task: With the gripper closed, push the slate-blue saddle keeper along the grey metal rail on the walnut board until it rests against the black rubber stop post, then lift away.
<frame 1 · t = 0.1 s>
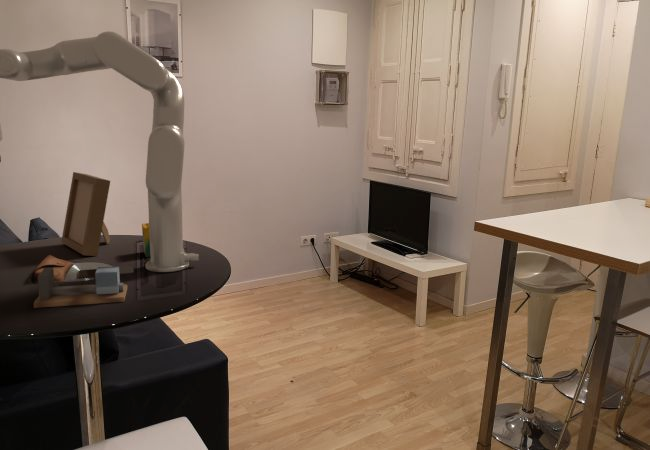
keeper: (108, 280, 133), point 4 cm above the table, slide at 0.0 cm
crayon box: (148, 254, 174), on the table
sunglasses case: (54, 275, 152), on the table
photo frame: (94, 248, 180), on the table
rail board: (83, 297, 132), on the table
stop post: (48, 300, 130), resting on rail board
smartphone: (106, 274, 153), on the table
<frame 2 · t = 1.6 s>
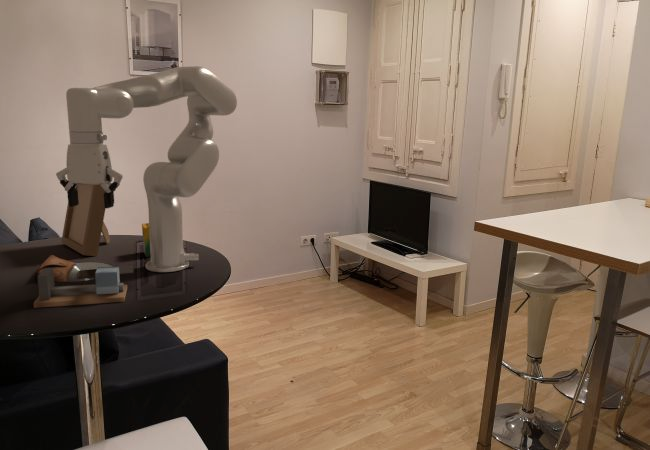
hand: (91, 206, 135), 22 cm above the table, tool pointing down, fingers open, 9 cm apart
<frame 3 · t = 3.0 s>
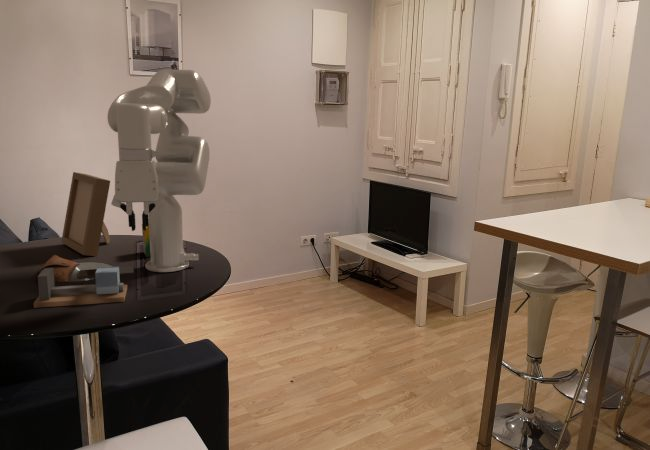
hand: (139, 229, 132), 17 cm above the table, tool pointing down, fingers closed
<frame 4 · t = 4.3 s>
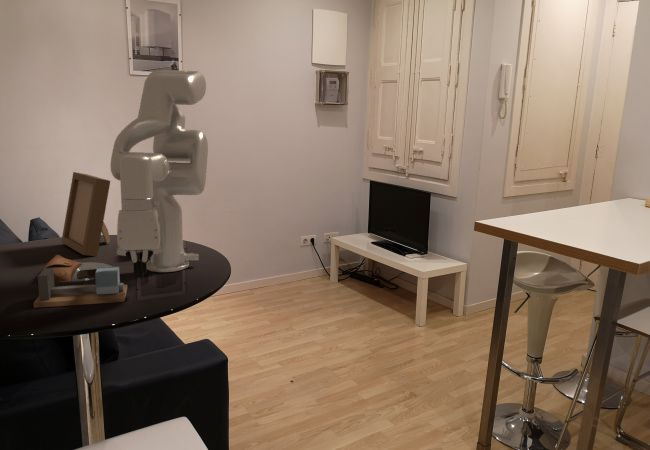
hand: (140, 276, 134), 5 cm above the table, tool pointing down, fingers closed
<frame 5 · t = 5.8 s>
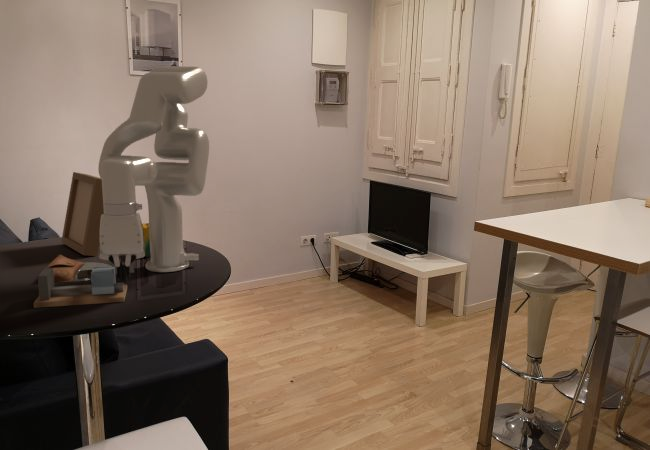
hand: (123, 280, 134), 4 cm above the table, tool pointing down, fingers closed
keeper: (103, 280, 133), point 4 cm above the table, slide at 1.0 cm, touching gripper
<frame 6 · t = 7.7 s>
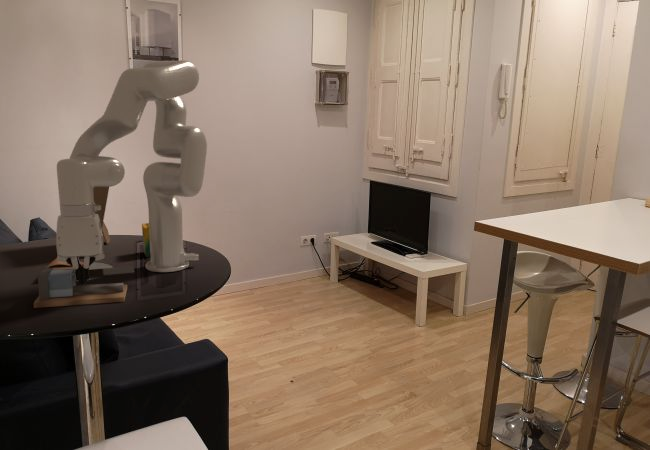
hand: (83, 282, 131), 4 cm above the table, tool pointing down, fingers closed
keeper: (62, 282, 130), point 4 cm above the table, slide at 10.5 cm, touching gripper, stop post
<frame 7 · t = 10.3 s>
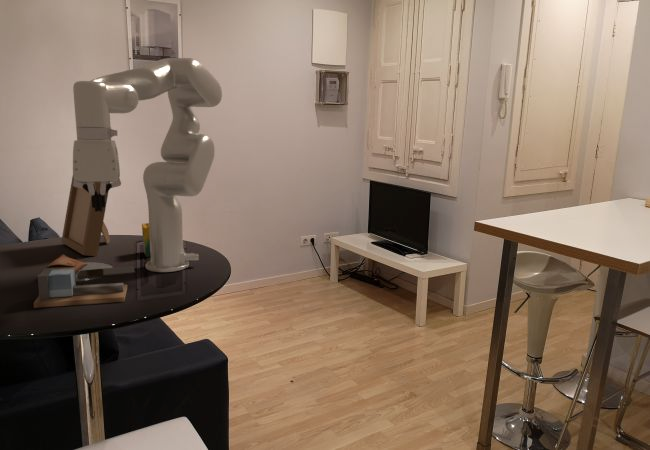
hand: (99, 210, 129), 22 cm above the table, tool pointing down, fingers closed
keeper: (62, 282, 130), point 4 cm above the table, slide at 10.5 cm, touching stop post
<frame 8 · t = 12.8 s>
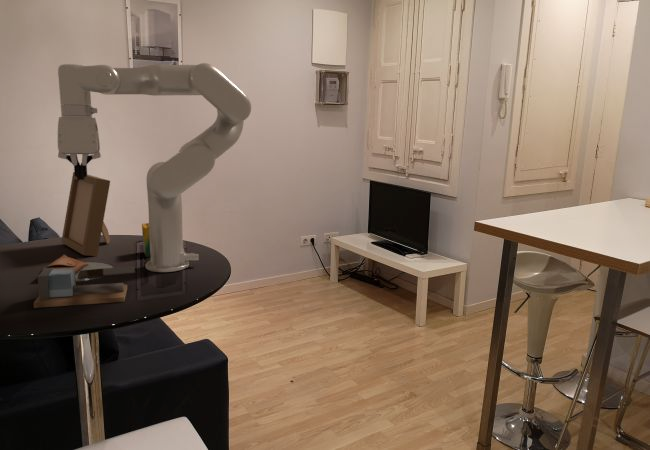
hand: (81, 179, 147), 27 cm above the table, tool pointing down, fingers closed
at the end: keeper slide at 10.5 cm; keeper 3.5 cm from the stop post (horizontally) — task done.
